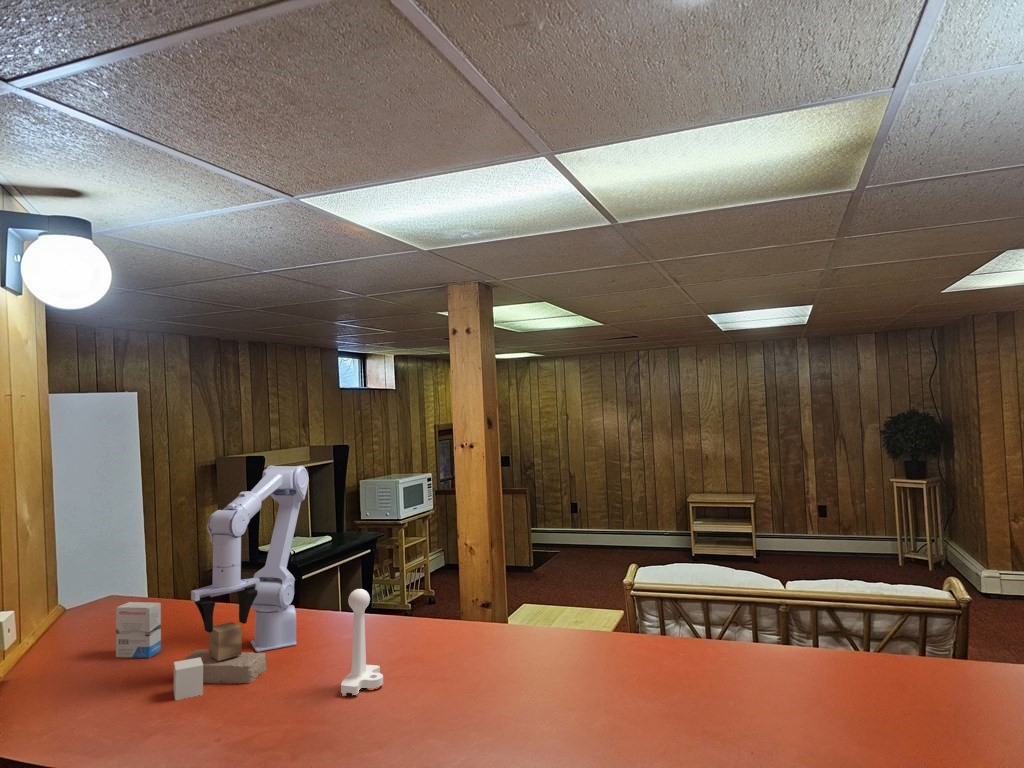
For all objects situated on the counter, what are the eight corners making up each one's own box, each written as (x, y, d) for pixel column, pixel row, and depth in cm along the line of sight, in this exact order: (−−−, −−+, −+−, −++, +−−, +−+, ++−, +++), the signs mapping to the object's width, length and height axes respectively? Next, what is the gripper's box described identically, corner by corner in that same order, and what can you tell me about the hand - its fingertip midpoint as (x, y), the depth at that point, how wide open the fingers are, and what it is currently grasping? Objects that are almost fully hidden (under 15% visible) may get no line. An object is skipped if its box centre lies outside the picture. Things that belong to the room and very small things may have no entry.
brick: (267, 670, 147) (268, 649, 147) (250, 686, 138) (251, 663, 139) (195, 669, 148) (196, 648, 148) (174, 685, 139) (175, 662, 139)
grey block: (200, 686, 138) (200, 657, 138) (202, 695, 133) (203, 665, 134) (173, 691, 135) (174, 661, 135) (175, 700, 131) (175, 670, 131)
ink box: (162, 651, 158) (162, 601, 158) (148, 659, 153) (149, 607, 153) (128, 650, 159) (129, 600, 159) (114, 657, 154) (115, 606, 154)
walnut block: (231, 649, 147) (232, 621, 148) (241, 654, 144) (241, 626, 144) (208, 655, 144) (209, 627, 144) (218, 660, 140) (218, 632, 141)
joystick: (361, 674, 143) (361, 581, 144) (393, 677, 142) (393, 583, 142) (335, 695, 133) (336, 595, 133) (370, 699, 131) (370, 598, 132)
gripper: (249, 556, 153) (248, 615, 153) (185, 567, 142) (184, 631, 142) (264, 560, 149) (264, 621, 148) (199, 573, 138) (198, 638, 137)
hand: (226, 626), depth 145 cm, fingers open, 7 cm apart
